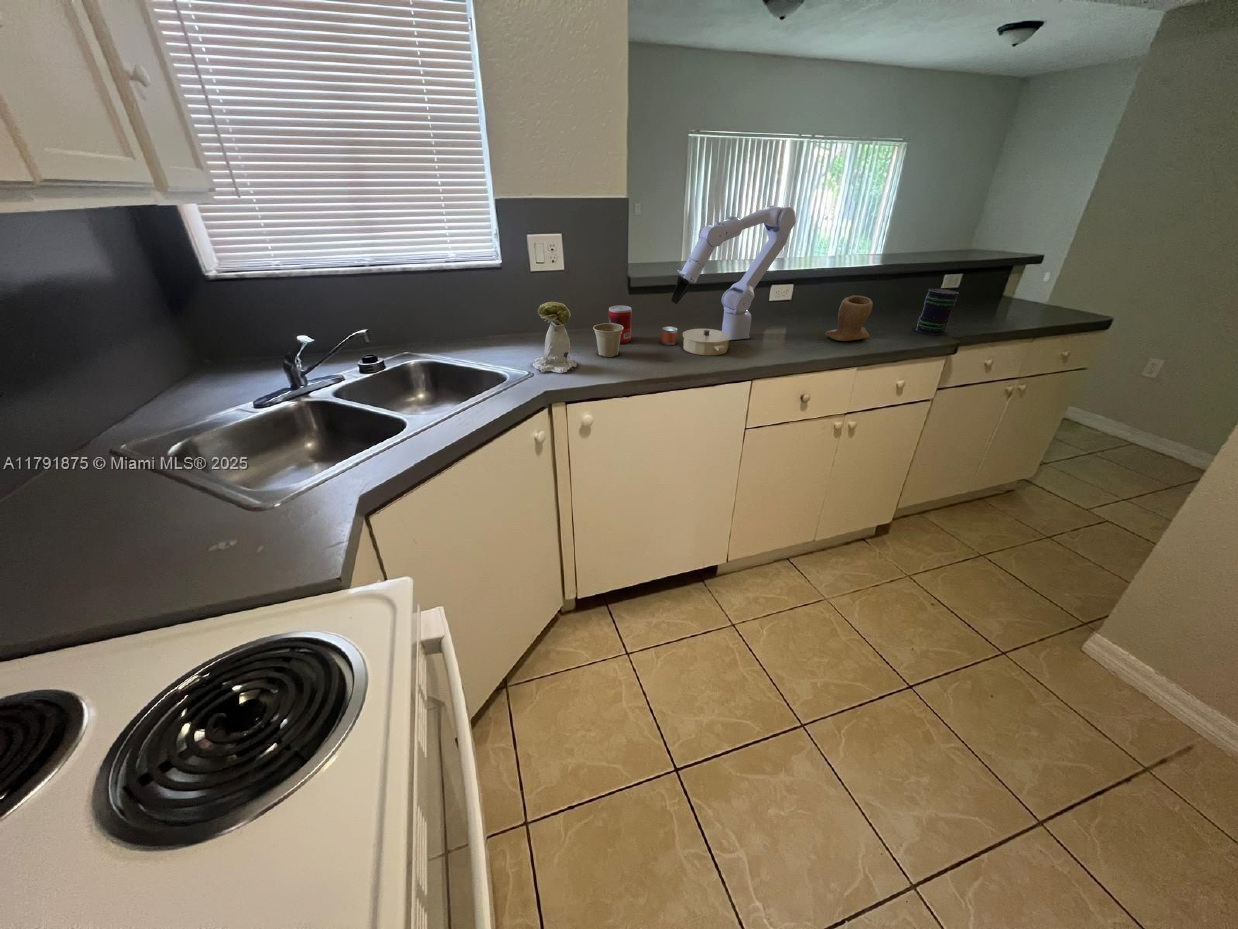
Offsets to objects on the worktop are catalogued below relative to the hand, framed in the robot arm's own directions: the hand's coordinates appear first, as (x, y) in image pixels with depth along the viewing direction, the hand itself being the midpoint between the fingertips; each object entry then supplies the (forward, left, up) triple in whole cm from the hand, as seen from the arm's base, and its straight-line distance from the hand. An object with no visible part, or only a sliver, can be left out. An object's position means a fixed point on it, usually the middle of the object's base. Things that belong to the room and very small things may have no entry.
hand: (673, 301), depth 159 cm
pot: (-8, +9, -14) cm, 18 cm away
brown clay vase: (-63, +16, -14) cm, 67 cm away
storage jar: (-102, +17, -14) cm, 105 cm away
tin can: (+1, 0, -14) cm, 14 cm away
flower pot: (+25, +5, -14) cm, 29 cm away
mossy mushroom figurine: (+44, +11, -14) cm, 47 cm away
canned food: (+16, -8, -14) cm, 23 cm away
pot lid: (-8, +9, -10) cm, 16 cm away
